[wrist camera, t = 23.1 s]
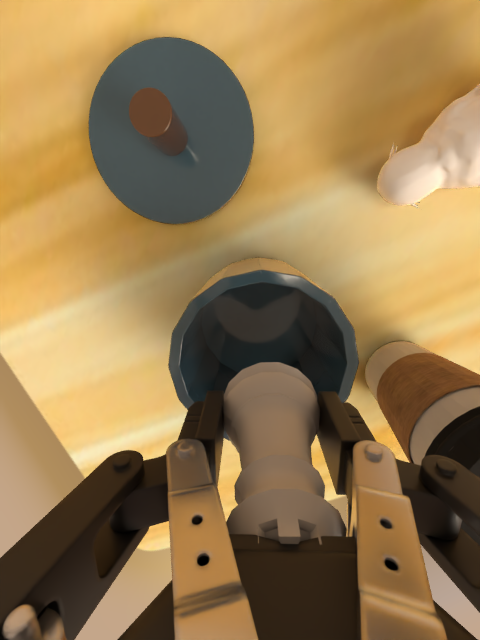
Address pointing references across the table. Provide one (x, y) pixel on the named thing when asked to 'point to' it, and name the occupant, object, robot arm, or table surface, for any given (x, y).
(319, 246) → the table surface
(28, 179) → the table surface
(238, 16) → the table surface
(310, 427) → the rook chess piece
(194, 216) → the lid
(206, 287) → the canister
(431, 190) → the white figurine
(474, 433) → the coffee cup
